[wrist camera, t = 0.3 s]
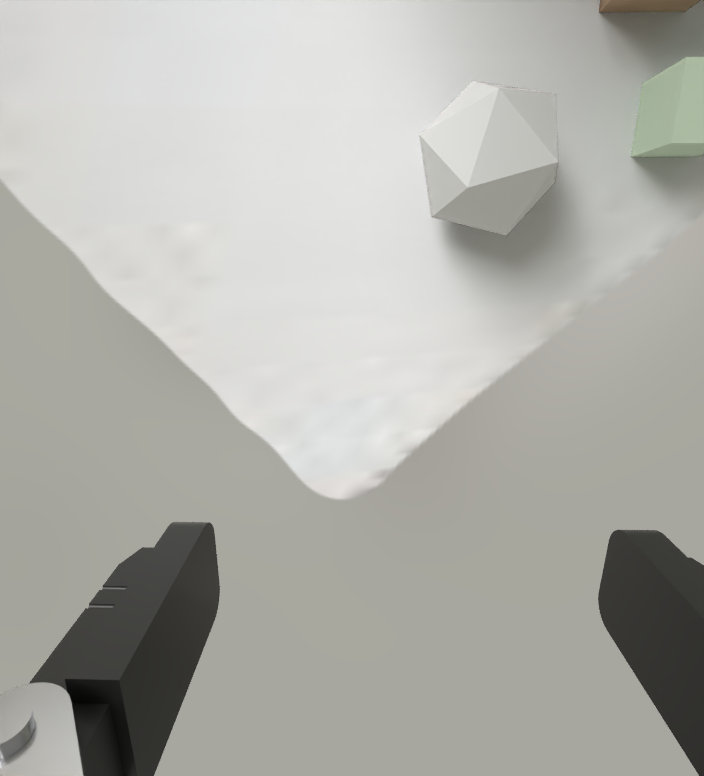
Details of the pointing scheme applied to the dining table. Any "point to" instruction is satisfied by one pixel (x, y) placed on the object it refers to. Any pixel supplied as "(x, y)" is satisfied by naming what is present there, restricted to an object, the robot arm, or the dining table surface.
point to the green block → (672, 112)
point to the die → (491, 156)
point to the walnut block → (646, 5)
